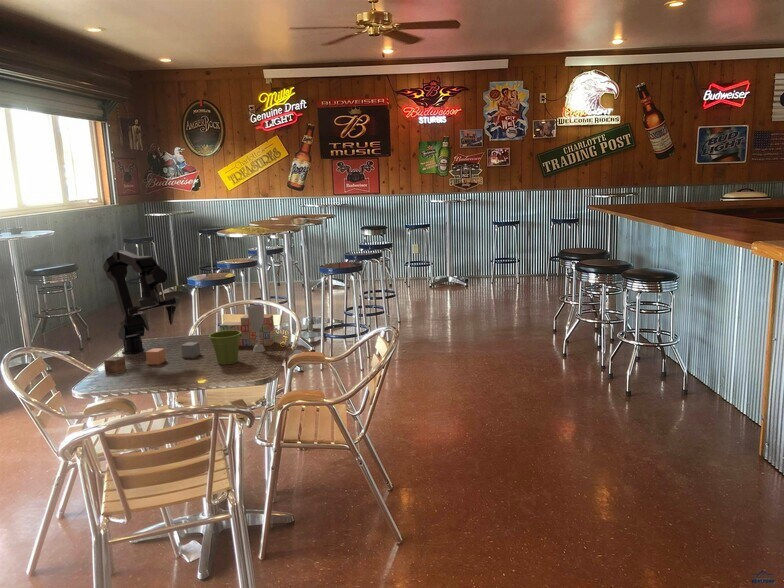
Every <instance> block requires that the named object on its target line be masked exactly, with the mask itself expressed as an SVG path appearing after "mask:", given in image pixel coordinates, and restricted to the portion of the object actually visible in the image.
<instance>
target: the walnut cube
mask: <svg viewBox="0 0 784 588" xmlns="http://www.w3.org/2000/svg"><path fill="white" fill-rule="evenodd" d="M103 363H104V371H105V374H116V375H117V374H120V373H122V372H125V371H126V370H127V365H126V357H125V356H111V357H108V358H106V359H104V360H103Z"/></svg>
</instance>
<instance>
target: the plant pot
mask: <svg viewBox="0 0 784 588" xmlns="http://www.w3.org/2000/svg"><path fill="white" fill-rule="evenodd" d="M240 334H241V331H238V330H225V331H221V330H220V331H215V332H212V333H210V334H209V335H208V337H209V338H210V341H211V343H212V346H213V350H214V354H215V356H216V357H215V358H216V359H217V363H218V364H219V365H221V366H225V365H233V364H236V363H237V362H238V360H239V347H240V346H239V339H240Z"/></svg>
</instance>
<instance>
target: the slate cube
mask: <svg viewBox="0 0 784 588" xmlns="http://www.w3.org/2000/svg"><path fill="white" fill-rule="evenodd" d="M200 348H201V347H200V342H198V341H197V342H196V341H195V342H193V341H190V342H189V341H187V342H185V343H183V344H180V349H181V357H182V358H186V359H187V358H191V359H193V358H196V357H198V356H200V355H201V349H200Z"/></svg>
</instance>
